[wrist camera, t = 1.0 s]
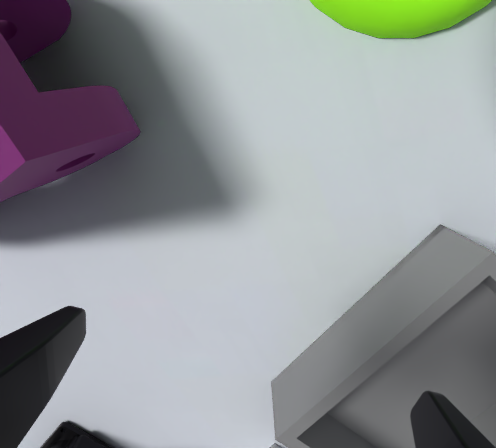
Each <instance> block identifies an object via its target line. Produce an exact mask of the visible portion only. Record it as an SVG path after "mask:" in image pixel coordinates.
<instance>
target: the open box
mask: <svg viewBox="0 0 496 448" xmlns="http://www.w3.org/2000/svg"><path fill="white" fill-rule="evenodd" d="M271 386H272V400H273V413H274V427H275V440H277V441H279V442H280V443H282V444H283V445H285V446H286V447H288V448H415V443H414V437H413V432H412V426H411V421H410V413H411V409H412V407H413V406H414V404H415V403H416V402H417V400H418V399H419V397H420V396H421V394H422V393H423V392H424V391H426V390H429V391H433V392H437V393H441V394H443V395H444V396H445V397H446V398H447V399H448V400H449V401H450V402H451V403H452V404H453V405H454V406H455V407H456V408H457V409H458V410H459V411H460V412H461V413H462V414H463V415H464V416H465V417H466V418H467V419H468V420H469V421H470V422H471V423H472V424H473V425H474V426H475V427H476V428H477V429H478V430H479V431H480V432H481V433H482V434H483V435H484V436H485V437H486V438H487V439H488V440H489V441H490V442H491V443H492V444H493V445H494V446H495V447H496V254H495V253H494V252H492V251H490V250H488V249H486V248H485V247H483V246H481V245H479V244H477V243H475V242H473V241H471V240H469V239H467V238H465V237H463V236H462V235H460V234H458V233H456V232H454V231H452V230H450V229H448V228H446V227H444V226H442V225H439V226H438V227H437V228H436V229H435V230H434V231H433V232H432V233H431V234H430V235H429V236H427V237H426V238H425V239H424V240H423V241H422V242H421V243H420V244H419V245H418V246H417V247H416V248H415V249H414V250H412V251H411V252H410V253H409V254H408V255H407V256H406V257H405V258H404V259H403V260H402V261H401V262H400V263H399V264H397V265H396V266H395V267H394V268H393V269H392V270H391V271H390V272H389V273H388V274H387V275H386V276H385V277H383V278H382V279H381V280H380V281H379V282H378V283H377V284H376V285H375V286H374V287H373V288H372V289H371V290H370V291H368V292H367V293H366V294H365V295H364V296H363V297H362V298H361V299H360V300H359V301H358V302H357V303H356V304H355V305H353V306H352V307H351V308H350V309H349V310H348V311H347V312H346V313H345V314H344V315H343V316H342V317H341V318H340V319H338V320H337V321H336V322H335V323H334V324H333V325H332V326H331V327H330V328H329V329H328V330H327V331H326V332H325V333H323V334H322V335H321V336H320V337H319V338H318V339H317V340H316V341H315V342H314V343H313V344H312V345H311V346H310V347H308V348H307V349H306V350H305V351H304V352H303V353H302V354H301V355H300V356H299V357H298V358H297V359H296V360H295V361H293V362H292V363H291V364H290V365H289V366H288V367H287V368H286V369H285V370H284V371H283V372H282V373H281V374H280V375H278V376H277V377H276V378H275V379H274V380H273V381H272V382H271Z"/></svg>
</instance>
